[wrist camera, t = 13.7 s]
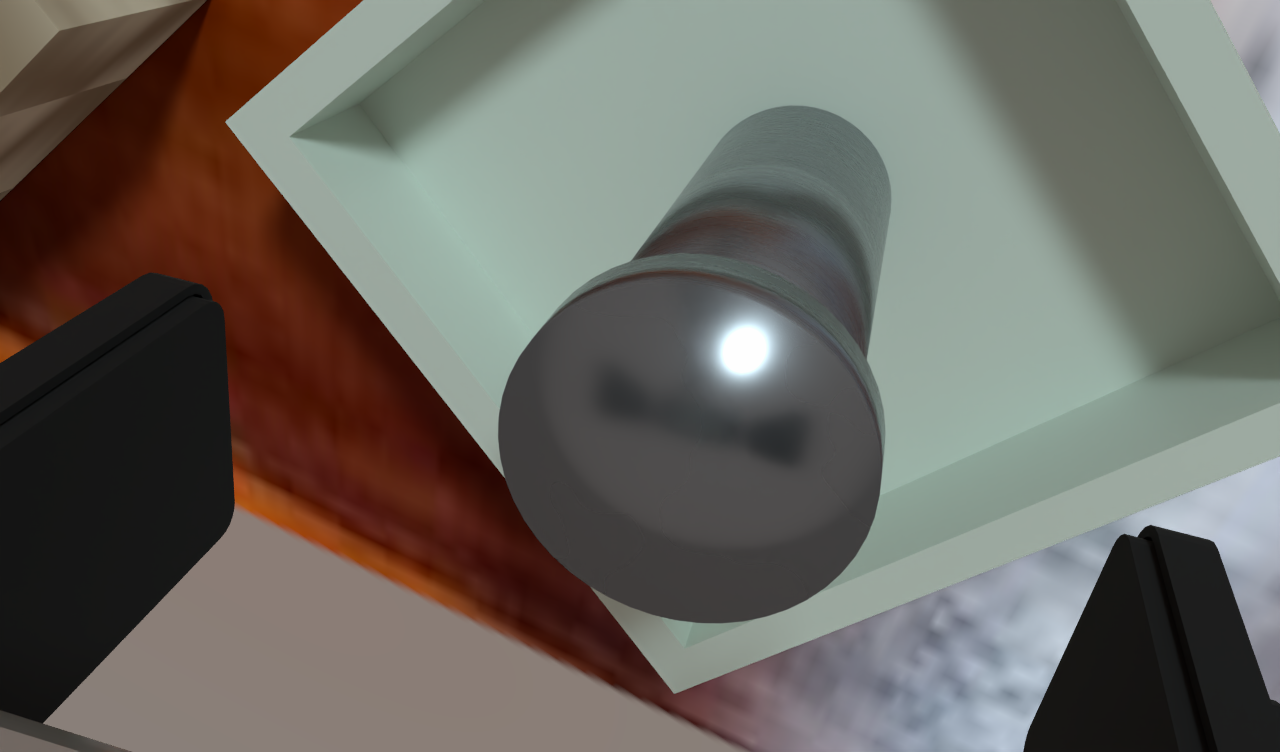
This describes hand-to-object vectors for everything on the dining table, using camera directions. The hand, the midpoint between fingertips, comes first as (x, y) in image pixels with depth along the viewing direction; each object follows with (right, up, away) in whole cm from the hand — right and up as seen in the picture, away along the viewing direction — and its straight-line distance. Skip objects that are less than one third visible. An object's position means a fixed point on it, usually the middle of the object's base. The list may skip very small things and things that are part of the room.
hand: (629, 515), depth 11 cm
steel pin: (+3, +5, +12) cm, 13 cm away
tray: (+4, +6, +13) cm, 14 cm away
